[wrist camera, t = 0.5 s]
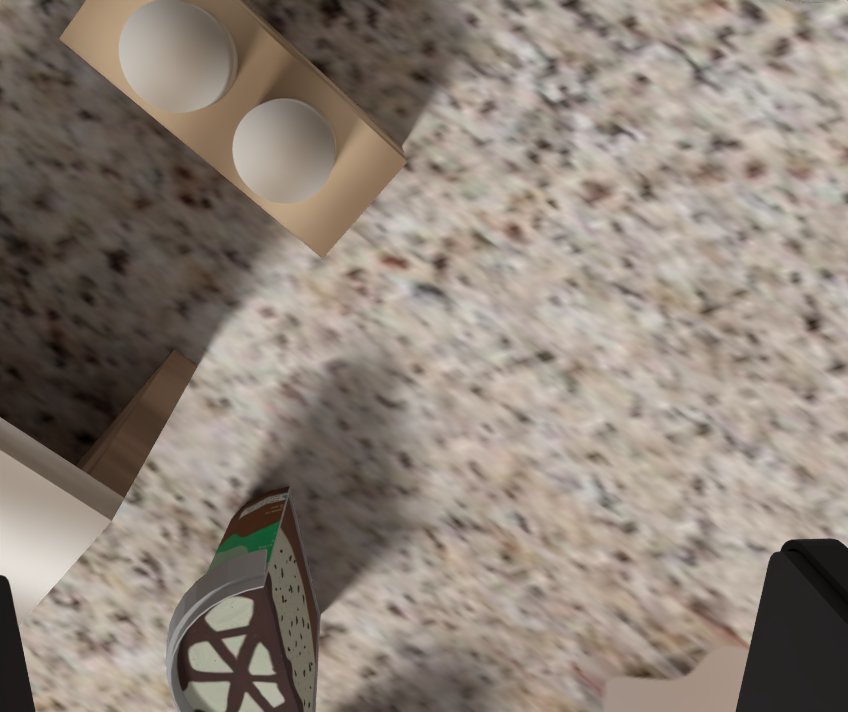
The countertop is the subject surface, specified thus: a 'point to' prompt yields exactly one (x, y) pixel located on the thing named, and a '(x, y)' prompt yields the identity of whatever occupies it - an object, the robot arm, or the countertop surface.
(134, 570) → the countertop surface
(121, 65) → the tan toy brick
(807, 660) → the robot arm
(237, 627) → the food container
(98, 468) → the wooden mini stool
